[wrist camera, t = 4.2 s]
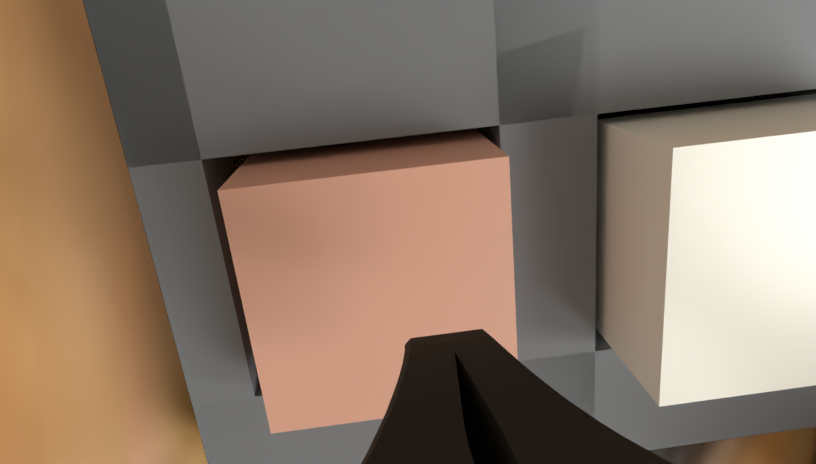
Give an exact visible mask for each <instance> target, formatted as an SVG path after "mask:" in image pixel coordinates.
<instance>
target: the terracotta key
mask: <svg viewBox="0 0 816 464" xmlns="http://www.w3.org/2000/svg"><path fill="white" fill-rule="evenodd" d="M217 191H218V196H219V200H220V205H221V209H222V214H223V218H224V223H225V227H226V232H227V237H228V241H229V246H230V250H231V255H232V259H233V264H234V268H235V273H236V277H237V282H238V286H239V291H240V296H241V300H242V305H243V309H244V314H245V318H246V323H247V327H248V332H249V336H250V341H251V346H252V350H253V355H254V359H255V364H256V368H257V373H258V377H259V382H260V386H261V391H262V395H263V400H264V405H265V409H266V414H267V418H268V423H269V427H270V432H271V434H273V433H280V432H287V431H295V430H302V429H309V428H317V427H324V426H332V425H339V424H346V423H354V422H361V421H368V420H376V419H383V418H384V416H385V413H386V411H387V409H388V406H389V403H390V400H391V398H392V395H393V392H394V390H395V387H396V384H397V381H398V378H399V375H400V371H401V368H402V364H403V359H404V352H405V344H406V343H407V342H408V341H409V340H410V338H416V337H424V336H431V335H439V334H446V333H454V332H461V331H469V330H477V329H483V330H484V331H486V332H487V333H488V334H489V335H490V336H492V337H493V338H494V339H495V340H496V341H497V342H498V343H499V344H500V345H502V346H503V347H504V348H505V349H506V350H507V351H508V352H509V353H510V354H512V355H513V356H514V357H515V358H516V359H517V360H518V353H517V330H516V306H515V283H514V259H513V236H512V212H511V189H510V166H509V156H508V155H507V154H506V153H504V152H503V151H502V150H501V149H499V148H498V147H497V146H496V145H495V144H493V143H492V142H491V141H490V140H488V139H487V138H486V137H485V136H483V135H482V134H481V133H480V132H478V131H477V130H476V129H475V128H471V129H463V130H454V131H445V132H437V133H428V134H419V135H411V136H402V137H393V138H385V139H376V140H367V141H359V142H350V143H341V144H333V145H324V146H315V147H306V148H298V149H289V150H280V151H272V152H263V153H254V154H251V155H250V156H249V157H248V158H247V159H246V160H245V161H244V162H243V163H242V164H241V166H240V167H239V168H238V169H237V170H236V171H235V172H234V173H233V174H232V175H231V176H230V177H229V179H228V180H227V181H226V182H225V183H224V184H223V185H222V186H221V187H220V188H219V189H218V190H217Z"/></svg>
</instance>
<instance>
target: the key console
mask: <svg viewBox="0 0 816 464" xmlns="http://www.w3.org/2000/svg"><path fill="white" fill-rule="evenodd" d="M83 4H84V7H85V11H86V15H87V18H88V22H89V26H90V29H91V33H92V37H93V41H94V44H95V48H96V52H97V55H98V59H99V63H100V66H101V70H102V74H103V77H104V81H105V85H106V89H107V92H108V96H109V100H110V103H111V107H112V111H113V114H114V118H115V122H116V126H117V129H118V133H119V137H120V140H121V144H122V148H123V151H124V155H125V159H126V162H127V166H128V170H129V174H130V177H131V181H132V185H133V188H134V192H135V196H136V199H137V203H138V207H139V210H140V214H141V218H142V222H143V225H144V229H145V233H146V236H147V240H148V244H149V247H150V251H151V255H152V259H153V262H154V266H155V270H156V273H157V277H158V281H159V284H160V288H161V292H162V295H163V299H164V303H165V307H166V310H167V314H168V318H169V321H170V325H171V329H172V332H173V336H174V340H175V344H176V347H177V351H178V355H179V358H180V362H181V366H182V369H183V373H184V377H185V380H186V384H187V388H188V392H189V395H190V399H191V403H192V406H193V410H194V414H195V417H196V421H197V425H198V429H199V432H200V436H201V440H202V443H203V447H204V451H205V454H206V458H207V462H208V464H361V463H362V461H363V459H364V457H365V456H366V454H367V452H368V450H369V448H370V446H371V443H372V441H373V439H374V437H375V435H376V433H377V431H378V429H379V427H380V424H381V422H382V420H383V419H376V420H368V421H361V422H354V423H346V424H339V425H332V426H324V427H317V428H309V429H302V430H295V431H287V432H280V433H273V434H271V432H270V427H269V423H268V418H267V414H266V409H265V405H264V400H263V395H262V391H261V386H260V382H259V377H258V373H257V368H256V364H255V359H254V355H253V350H252V346H251V341H250V336H249V332H248V327H247V323H246V318H245V314H244V309H243V305H242V300H241V296H240V291H239V286H238V282H237V277H236V273H235V268H234V264H233V259H232V255H231V250H230V246H229V241H228V237H227V232H226V227H225V223H224V218H223V214H222V209H221V205H220V200H219V196H218V191H217V190H218V189H219V188H220V187H221V186H222V185H223V184H224V183H225V182H226V181H227V180H228V179H229V177H230V176H231V175H232V174H233V173H234V172H235V171H236V169H235V164H234V159H233V156H237V155H246V154H254V153H263V152H272V151H280V150H289V149H298V148H306V147H315V146H324V145H333V144H341V143H350V142H359V141H367V140H376V139H385V138H393V137H402V136H411V135H419V134H428V133H437V132H445V131H454V130H463V129H471V128H477V131H478V132H480V133H481V134H482V135H483V136H485V137H486V138H487V139H488V140H490V141H491V142H492V143H493V144H495V145H496V146H497V147H498V148H499V149H501V150H502V151H503V152H504V153H506V154H507V155H508V156H509V166H510V189H511V212H512V236H513V259H514V283H515V306H516V330H517V353H518V360H519V361H520V362H521V363H522V364H523V365H524V366H526V367H527V368H528V369H529V370H530V371H532V372H533V373H534V374H535V375H536V376H538V377H539V378H540V379H541V380H543V381H544V382H545V383H547V384H548V385H549V386H550V387H552V388H553V389H554V390H555V391H557V392H558V393H559V394H560V395H562V396H563V397H565V398H566V399H567V400H569V401H570V402H572V403H573V404H574V405H576V406H577V407H579V408H580V409H582V410H583V411H585V412H586V413H588V414H589V415H591V416H592V417H593V418H595V419H596V420H598V421H599V422H601V423H602V424H604V425H606V426H607V427H609V428H611V429H612V430H614V431H615V432H617V433H619V434H620V435H622V436H624V437H625V438H627V439H629V440H631V441H633V442H634V443H636V444H638V445H640V446H641V447H643V448H645V449H647V450H654V449H661V448H668V447H675V446H683V445H690V444H697V443H704V442H711V441H718V440H725V439H732V438H739V437H747V436H754V435H761V434H768V433H775V432H782V431H789V430H796V429H803V428H811V427H816V385H814V386H807V387H799V388H792V389H785V390H777V391H770V392H763V393H756V394H748V395H741V396H734V397H727V398H719V399H712V400H705V401H697V402H690V403H683V404H676V405H668V406H661V407H659V406H658V405H657V404H656V402H655V401H654V400H653V399H652V397H651V396H650V395H649V394H648V392H647V391H646V390H645V389H644V387H643V386H642V385H641V384H640V382H639V381H638V380H637V379H636V377H635V376H634V375H633V374H632V372H631V371H630V370H629V369H628V368H627V366H626V365H625V364H624V363H623V361H622V360H621V359H620V358H619V356H618V355H617V354H616V353H615V351H614V350H613V349H612V348H611V346H610V345H609V344H608V343H607V341H606V340H605V339H604V338H603V337H602V335H601V334H600V333H599V332H598V330H597V329H596V328H595V317H596V212H597V114H602V113H610V112H619V111H628V110H636V109H645V108H654V107H663V106H671V105H680V104H689V103H697V102H706V101H715V100H723V99H732V98H741V97H749V96H758V95H767V94H775V93H784V92H790V95H789V97H791V96H800V95H809V94H816V0H83Z"/></svg>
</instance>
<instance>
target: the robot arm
mask: <svg viewBox="0 0 816 464" xmlns="http://www.w3.org/2000/svg"><path fill="white" fill-rule="evenodd" d="M361 464H672V463H670V462H668V461H666V460H664V459H662V458H661V457H659V456H657V455H655V454H654V453H652V452H650V451H648V450H647V449H645V448H643V447H641V446H640V445H638V444H636V443H634V442H633V441H631V440H629V439H627V438H625V437H624V436H622V435H620V434H619V433H617V432H615V431H614V430H612V429H611V428H609V427H607V426H606V425H604V424H602V423H601V422H599V421H598V420H596V419H595V418H593V417H592V416H591V415H589V414H588V413H586V412H585V411H583V410H582V409H580V408H579V407H577V406H576V405H574V404H573V403H572V402H570V401H569V400H567V399H566V398H565V397H563V396H562V395H560V394H559V393H558V392H557V391H555V390H554V389H553V388H552V387H550V386H549V385H548V384H547V383H545V382H544V381H543V380H541V379H540V378H539V377H538V376H536V375H535V374H534V373H533V372H532V371H530V370H529V369H528V368H527V367H526V366H524V365H523V364H522V363H521V362H520V361H519V360H517V359H516V358H515V357H514V356H513V355H512V354H510V353H509V352H508V351H507V350H506V349H505V348H504V347H503V346H502V345H500V344H499V343H498V342H497V341H496V340H495V339H494V338H493V337H492V336H490V335H489V334H488V333H487V332H486V331H484V330H483V329H477V330H469V331H461V332H454V333H446V334H439V335H431V336H424V337H416V338H410V340H409V341H408V342H407V343H406V344H405V352H404V359H403V364H402V368H401V371H400V375H399V378H398V381H397V384H396V387H395V390H394V392H393V395H392V398H391V400H390V403H389V406H388V409H387V411H386V413H385V416H384V418H383V420H382V422H381V424H380V427H379V429H378V431H377V433H376V435H375V437H374V439H373V441H372V443H371V446H370V448H369V450H368V452H367V454H366V456H365V457H364V459H363V461H362V463H361Z"/></svg>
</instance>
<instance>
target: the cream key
mask: <svg viewBox="0 0 816 464" xmlns="http://www.w3.org/2000/svg"><path fill="white" fill-rule="evenodd" d="M595 328H596V329H597V330H598V332H599V333H600V334H601V335H602V337H603V338H604V339H605V340H606V341H607V343H608V344H609V345H610V346H611V348H612V349H613V350H614V351H615V353H616V354H617V355H618V356H619V358H620V359H621V360H622V361H623V363H624V364H625V365H626V366H627V368H628V369H629V370H630V371H631V372H632V374H633V375H634V376H635V377H636V379H637V380H638V381H639V382H640V384H641V385H642V386H643V387H644V389H645V390H646V391H647V392H648V394H649V395H650V396H651V397H652V399H653V400H654V401H655V402H656V404H657V405H658V406H659V407H661V406H668V405H676V404H683V403H690V402H697V401H705V400H712V399H719V398H727V397H734V396H741V395H748V394H756V393H763V392H770V391H777V390H785V389H792V388H799V387H807V386H814V385H816V94H809V95H800V96H791V97H783V98H774V99H765V100H757V101H748V102H739V103H731V104H722V105H713V106H705V107H696V108H687V109H679V110H670V111H661V112H653V113H644V114H635V115H627V116H618V117H609V118H601V119H597V212H596V317H595Z"/></svg>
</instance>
